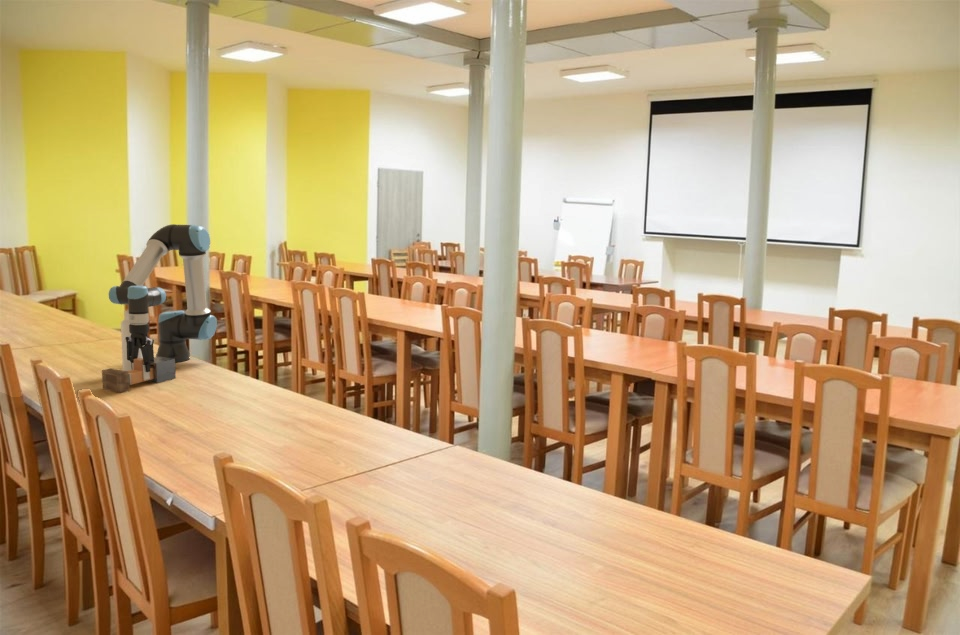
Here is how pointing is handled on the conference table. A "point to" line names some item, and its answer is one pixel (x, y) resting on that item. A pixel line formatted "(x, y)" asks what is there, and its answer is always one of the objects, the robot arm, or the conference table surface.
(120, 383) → the brown rectangular block
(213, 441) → the conference table surface
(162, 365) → the sleeve
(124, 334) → the bottle
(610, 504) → the conference table surface
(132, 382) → the inner bar
